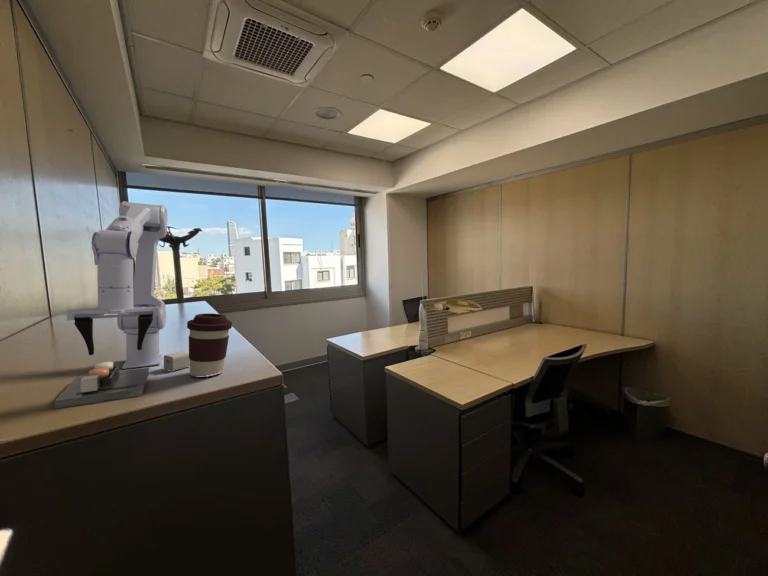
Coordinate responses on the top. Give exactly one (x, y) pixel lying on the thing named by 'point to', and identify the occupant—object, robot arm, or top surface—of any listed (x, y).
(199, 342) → the coffee cup
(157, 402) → the top surface
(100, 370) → the terracotta button
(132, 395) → the control panel
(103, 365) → the off-white button
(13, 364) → the top surface
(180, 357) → the usb wall charger
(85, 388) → the light grey block
